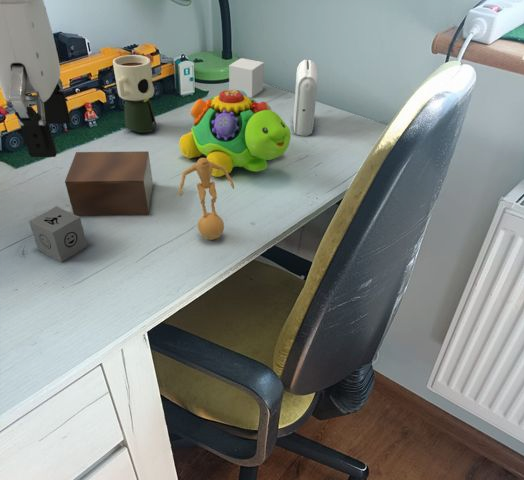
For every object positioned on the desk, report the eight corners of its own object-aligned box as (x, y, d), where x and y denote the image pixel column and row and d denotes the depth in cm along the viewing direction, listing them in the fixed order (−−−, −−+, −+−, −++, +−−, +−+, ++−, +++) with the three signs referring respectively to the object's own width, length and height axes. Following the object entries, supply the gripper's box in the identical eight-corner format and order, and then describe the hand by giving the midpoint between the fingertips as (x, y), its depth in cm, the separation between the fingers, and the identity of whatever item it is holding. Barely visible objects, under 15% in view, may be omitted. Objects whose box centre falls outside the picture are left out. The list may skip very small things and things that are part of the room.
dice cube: (38, 250, 77) (28, 221, 73) (64, 235, 80) (56, 206, 76) (61, 262, 75) (52, 232, 71) (87, 246, 78) (80, 217, 74)
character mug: (144, 142, 102) (134, 72, 93) (112, 136, 104) (99, 66, 94) (168, 121, 110) (161, 54, 100) (138, 116, 111) (129, 49, 102)
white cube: (263, 89, 124) (264, 62, 120) (251, 97, 120) (252, 70, 116) (241, 84, 126) (241, 57, 121) (229, 92, 122) (228, 65, 117)
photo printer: (313, 137, 106) (319, 72, 97) (292, 136, 106) (297, 71, 97) (312, 116, 113) (318, 54, 104) (293, 115, 113) (297, 53, 104)
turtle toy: (243, 201, 88) (243, 133, 79) (170, 151, 100) (163, 87, 92) (315, 172, 96) (322, 107, 87) (238, 129, 108) (238, 68, 99)
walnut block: (74, 215, 83) (64, 181, 79) (84, 185, 90) (75, 151, 86) (148, 214, 84) (143, 180, 80) (153, 184, 91) (148, 151, 87)
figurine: (188, 248, 78) (181, 174, 69) (180, 227, 82) (172, 154, 73) (240, 240, 80) (240, 167, 71) (230, 220, 84) (228, 148, 75)
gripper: (-6, -39, 60) (36, 112, 72) (-57, -2, 48) (4, 171, 60) (60, -38, 60) (90, 111, 73) (26, -1, 49) (69, 170, 61)
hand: (51, 138), depth 67 cm, fingers open, 9 cm apart
